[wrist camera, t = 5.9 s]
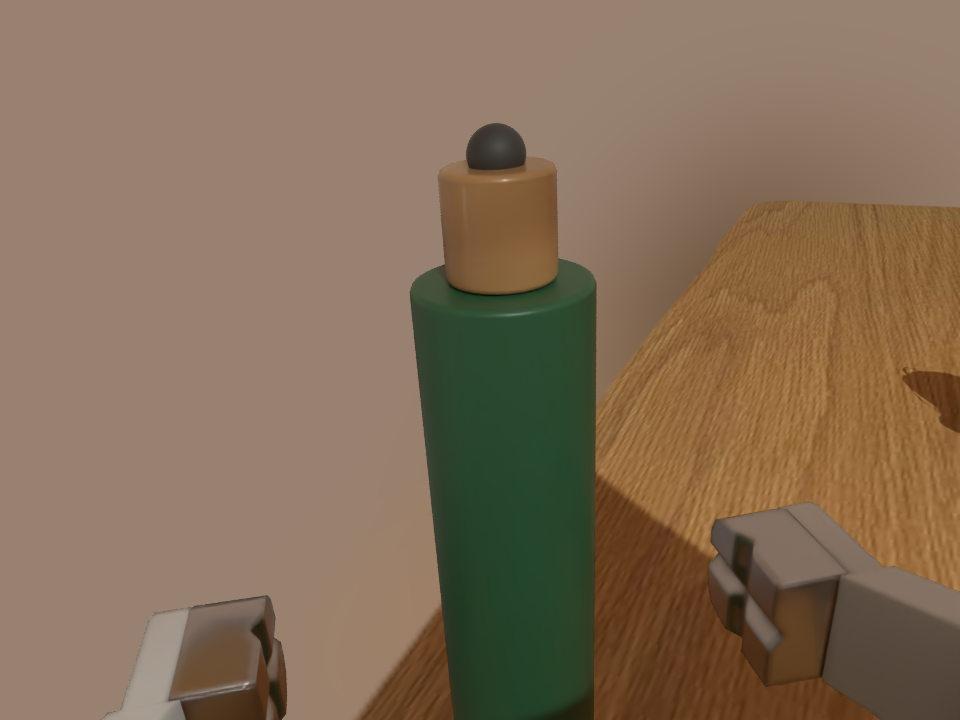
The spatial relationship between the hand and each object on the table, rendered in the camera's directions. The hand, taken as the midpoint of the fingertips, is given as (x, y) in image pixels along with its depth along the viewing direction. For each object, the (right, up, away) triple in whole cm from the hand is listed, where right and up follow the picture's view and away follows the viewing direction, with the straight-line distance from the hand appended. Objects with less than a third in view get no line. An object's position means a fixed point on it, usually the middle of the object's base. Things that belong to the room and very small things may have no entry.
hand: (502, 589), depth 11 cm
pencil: (+1, -8, +2) cm, 8 cm away
